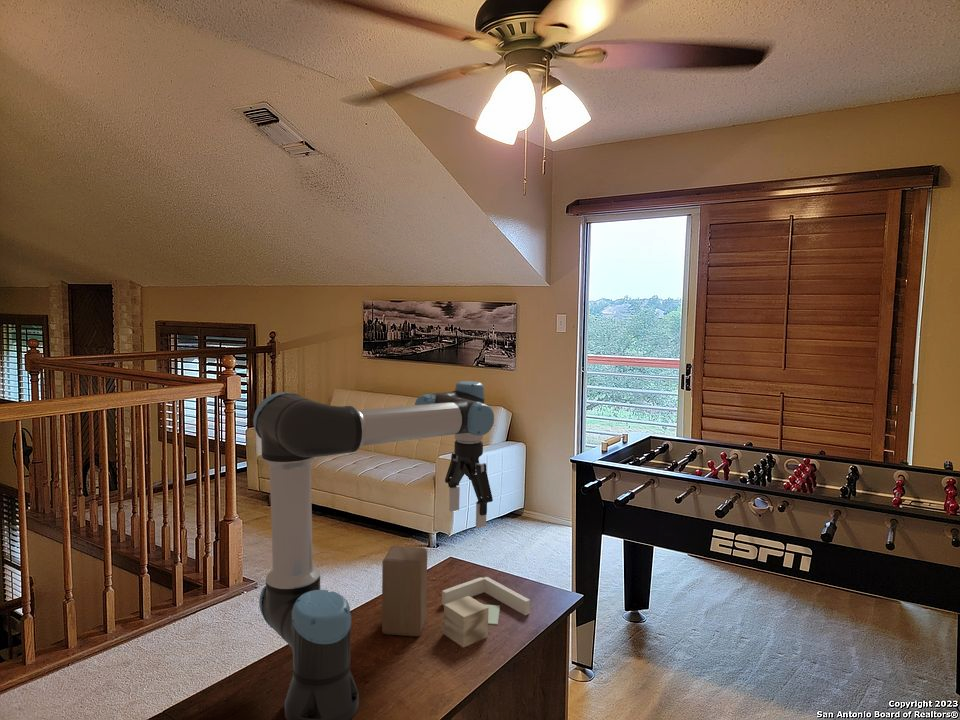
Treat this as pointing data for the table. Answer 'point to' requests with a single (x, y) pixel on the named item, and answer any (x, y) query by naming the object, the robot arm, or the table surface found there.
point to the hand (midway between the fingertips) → (467, 518)
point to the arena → (491, 589)
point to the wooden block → (404, 591)
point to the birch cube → (466, 621)
